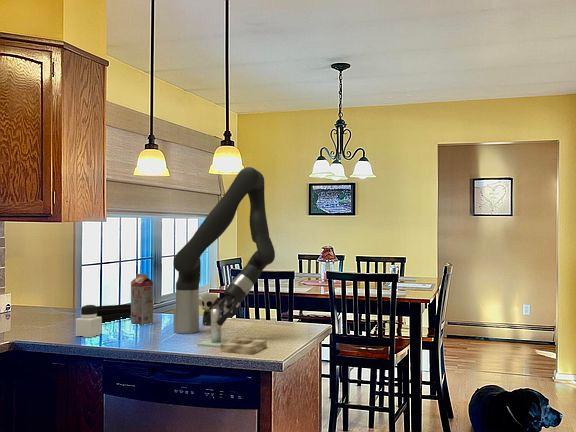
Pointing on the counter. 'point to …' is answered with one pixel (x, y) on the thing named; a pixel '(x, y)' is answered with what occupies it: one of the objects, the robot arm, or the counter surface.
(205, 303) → the big headed toy figurine
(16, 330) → the counter surface
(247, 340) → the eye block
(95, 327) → the medicine bottle
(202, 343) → the mat
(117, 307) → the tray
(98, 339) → the counter surface
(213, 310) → the peg
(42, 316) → the counter surface
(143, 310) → the juice carton
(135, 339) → the counter surface
